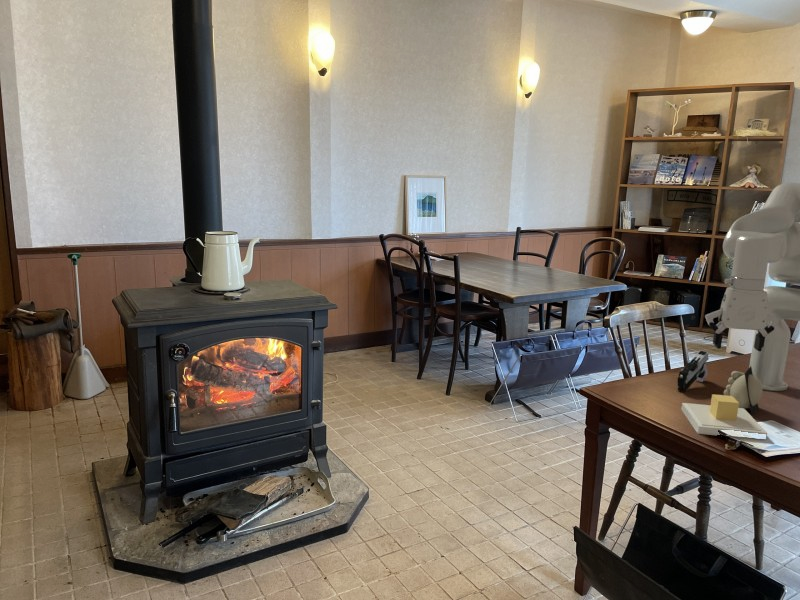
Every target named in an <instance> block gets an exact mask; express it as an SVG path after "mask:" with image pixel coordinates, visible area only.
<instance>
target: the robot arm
mask: <svg viewBox="0 0 800 600" xmlns="http://www.w3.org/2000/svg"><path fill="white" fill-rule="evenodd" d="M722 251H723V254H724V255H725V256H726V257H727V258H730V259H733V263H732V268H731V269H732V271H731V275H730V277H729V278H724V284H725V285H729V287H726V289H725V292H724V295H723V298H722V300H721V304H720V308H719V309H718V310H715V311H711V312H710V313H707V314H705V315H704V318H705V319H706V320H705V321H706V322H707V325H708V326H709V327H710V328H711V329H712V330H713V338H712V345H714V347H715V348H716V349H721V348H722V343H723V342H722V341H723V333H722V332H724V331H725V330H726V329H732V330H733V329H734V330H751V331H752V330H753V331H754V335H753V342H752V348H751V352H750V353H751V354H750V360H749V366H748V369H749V368H750V366H751V368H752V373H753V375H754V376H756V377H757V378H758V379H759V380H760V381H761V383H762V387H763V390H765V391H772V392H774V391H775V392H781V391H786V390H788V386H789V385H788V383H787V382H786V381H784V376H785V369H786V363H787V358H788V351H789V347H790V341H791V330H790V327H789V325H788V324H787V322H786V321H785V320H791V321H797V322H800V288H793V287H789V286H787V287H786V286H779V285H778V286H777V285H769V286H768V285H767V286H765V283H766V278H767V274H768V277H769V278H770V279H771V280H772V281H775V282H779V283H783V284H784V283H785V284H793V285H800V182H784V183H780V184H779V185H777V186H775V187H774V188H773V189H772V191H771V192H770V194H769V196H768V197H767V199H766V201H765V203H764V204H763V206H762V208H761V209H760V208H759V209H758V210H755V211H752V212H750V213H747V214H745V215H743V216H740V217H739V218H737V219H736V220H735V221H734V222H733V223H732V225H731V226H730V228H729V229H728V230H727V233H726V234H725V237H724V239H723V242H722ZM767 271H768V273H767ZM715 318H718V323H716V324H715V321H714V319H715Z"/></svg>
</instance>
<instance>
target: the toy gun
mask: <svg viewBox="0 0 800 600" xmlns="http://www.w3.org/2000/svg"><path fill="white" fill-rule="evenodd" d="M708 361H709V352H708V351H704V350H701V349H700V350H699V351H697V353H696V354H695V355H694V356H692V359H690V361H689V362H688V363H687V364H686V366H684V368H682V369H681V370H680V371H679V372H678V377H677V391H678V392H681V393H686V392H687V390H689V388H691V386H692V384H693V383H694V382H695V381H696V382H699V383H704V381H705V379H706V378H707V376H708V367H707V364H706V363H707V362H708Z"/></svg>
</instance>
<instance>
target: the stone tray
mask: <svg viewBox="0 0 800 600" xmlns="http://www.w3.org/2000/svg"><path fill="white" fill-rule="evenodd" d="M710 405H711V404H710ZM710 405H708V404H698V403H689V402H682V403H681V411H682V413H683V415H685V417H686V418H687V420H688V422H690V423H689V424H690V425H691V426H692V427H693V429H694V431H695V432H696V433H697V434H701V435H709V436H710V435H711V436H717V435H720V434H719V432H718V430H734V431H741V432H748V433H758V434H766V435H768V432H767V431H766V430H765V429H764V428H763V427H762V425H761V424H759V422H758V421H756V419H754V418H753V417H754V416H753V417H752V415H751V413H749V412H748V411H747V410H746V408H738V413H737V419H736V421H730V420H719V419H715V418H714V417H713V415H712V414H711V413H710Z"/></svg>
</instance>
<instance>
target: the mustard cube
mask: <svg viewBox="0 0 800 600" xmlns="http://www.w3.org/2000/svg"><path fill="white" fill-rule="evenodd" d="M738 407H739V402H738V401H737V400H736V399H735V398H734V397H733V396H726V395H724V394H712V393H711V400H710V413H711V414H712V415H713V417H714V418H715V419H719V420H730V421H736V419H737V413H738Z"/></svg>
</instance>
